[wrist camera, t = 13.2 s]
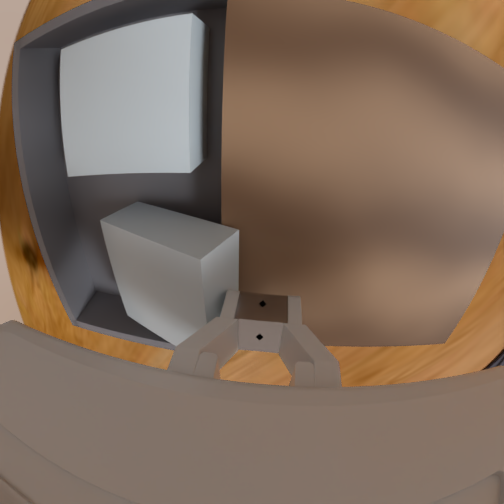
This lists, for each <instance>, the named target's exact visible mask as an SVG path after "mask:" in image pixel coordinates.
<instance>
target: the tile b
mask: <svg viewBox="0 0 504 504" xmlns="http://www.w3.org/2000/svg"><path fill="white" fill-rule="evenodd" d="M100 222H101V227H102V231H103V235H104V239H105V243H106V247H107V251H108V255H109V259H110V262H111V266H112V269H113V273H114V276H115V279H116V282H117V286H118V289H119V292H120V295H121V298H122V301H123V304H124V307H125V310H126V313H127V315H128V316H129V317H131V318H132V319H134V320H135V321H137V322H138V323H140V324H141V325H143V326H144V327H146V328H147V329H149V330H150V331H152V332H154V333H155V334H157V335H158V336H160V337H162V338H163V339H165V340H166V341H168V342H170V343H171V344H173V345H175V346H177V345H179V344H180V343H182V342H183V341H184V340H186V339H187V338H188V337H190V336H191V335H193V334H194V333H195V332H197V331H198V330H199V329H201V328H202V327H203V326H205V325H206V324H207V323H209V322H210V321H211V320H213V319H214V318H215V317H220V315H221V311H222V308H223V304H224V300H225V296H226V293H227V291H228V290H234V291H239V230H238V229H235V228H231V227H228V226H224V225H221V224H217V223H214V222H210V221H207V220H203V219H200V218H196V217H193V216H189V215H185V214H182V213H178V212H175V211H171V210H167V209H164V208H160V207H156V206H153V205H149V204H145V203H142V202H135V203H133V204H131V205H129V206H127V207H125V208H123V209H121V210H119V211H117V212H115V213H113V214H111V215H109V216H107V217H105V218H103V219H101V220H100Z"/></svg>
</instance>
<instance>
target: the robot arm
mask: <svg viewBox="0 0 504 504" xmlns="http://www.w3.org/2000/svg"><path fill="white" fill-rule="evenodd" d="M238 349H239V350H251V351H263V352H272V353H279V356H280V357H281V359H282V361H283V362H284V364H285V365H286V367H287V369H288V370H289V372H290V374H291V375H292V377H291V381H290V384H289V386H279V385H266V384H254V383H245V382H236V381H228V380H220V372H219V370H220V369H221V368H222V367H223V366H224V365H225V364H226V363H227V362H228V361H229V359H230V358H231V357H232V356H233V355H234V354H235V353H236V352H237V351H238ZM0 504H504V366H497V367H493V368H489V369H485V370H481V371H477V372H472V373H468V374H463V375H458V376H453V377H447V378H441V379H434V380H428V381H420V382H412V383H403V384H392V385H379V386H360V387H342V384H341V376H340V367H339V362H338V361H337V359H336V358H335V357H334V356H333V355H332V354H331V353H330V352H329V350H328V349H327V348H326V347H325V346H324V345H323V344H322V343H321V341H320V340H319V339H318V338H317V337H316V336H315V335H314V334H313V332H312V331H311V330H310V329H309V328H308V327H307V326H306V325H302V312H301V297H300V296H291V295H288V296H287V295H274V294H262V293H253V292H244V291H234V290H228V291H227V293H226V296H225V300H224V304H223V308H222V311H221V315H220V317H215V318H214V319H213V320H211V321H210V322H209V323H207V324H206V325H205V326H203V327H202V328H201V329H199V330H198V331H197V332H195V333H194V334H193V335H191V336H190V337H188V338H187V339H186V340H184V341H183V342H182V343H180V344H179V345H177V346H176V348H175V351H174V353H173V356H172V359H171V361H170V364H169V367H168V370H164V369H159V368H154V367H150V366H146V365H142V364H138V363H134V362H130V361H126V360H122V359H119V358H115V357H112V356H108V355H105V354H102V353H98V352H95V351H92V350H89V349H86V348H83V347H80V346H77V345H74V344H71V343H68V342H66V341H63V340H60V339H58V338H55V337H52V336H50V335H47V334H45V333H42V332H40V331H38V330H35V329H33V328H31V327H28V326H26V325H24V324H22V323H20V322H17V321H14V320H11V321H8V322H6V323H3V324H1V325H0Z"/></svg>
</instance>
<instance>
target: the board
mask: <svg viewBox="0 0 504 504" xmlns="http://www.w3.org/2000/svg"><path fill="white" fill-rule="evenodd" d="M221 213H222V225H224V226H228V227H231V228H235V229H238V230H239V291H244V292H253V293H262V294H274V295H287V296H288V295H291V296H300V297H301V312H302V325H306V326H307V327H308V328H309V329H310V330H311V331H312V332H313V334H314V335H315V336H316V337H317V338H318V339H319V340H320V341H321V343H322V344H323V345H324V346H361V347H372V346H412V345H430V344H443V343H445V342H446V341H447V339H448V338H449V336H450V335H451V333H452V332H453V330H454V329H455V327H456V326H457V324H458V322H459V321H460V319H461V318H462V316H463V314H464V313H465V311H466V309H467V308H468V306H469V304H470V302H471V301H472V299H473V297H474V295H475V293H476V291H477V290H478V288H479V286H480V284H481V282H482V280H483V278H484V276H485V274H486V272H487V270H488V268H489V266H490V263H491V261H492V259H493V257H494V254H495V252H496V250H497V247H498V245H499V243H500V240H501V238H502V235H503V232H504V68H503V67H501V66H500V65H498V64H497V63H495V62H494V61H492V60H491V59H489V58H488V57H486V56H484V55H483V54H481V53H480V52H478V51H476V50H474V49H473V48H471V47H469V46H467V45H466V44H464V43H462V42H460V41H458V40H456V39H454V38H452V37H450V36H448V35H446V34H444V33H442V32H440V31H438V30H435V29H433V28H431V27H429V26H426V25H424V24H421V23H419V22H416V21H414V20H411V19H408V18H406V17H403V16H400V15H397V14H394V13H391V12H388V11H385V10H381V9H378V8H374V7H371V6H367V5H363V4H359V3H355V2H350V1H346V0H227V13H226V29H225V48H224V71H223V102H222V158H221Z"/></svg>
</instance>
